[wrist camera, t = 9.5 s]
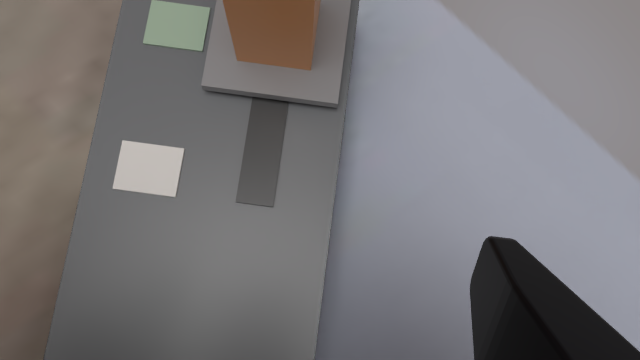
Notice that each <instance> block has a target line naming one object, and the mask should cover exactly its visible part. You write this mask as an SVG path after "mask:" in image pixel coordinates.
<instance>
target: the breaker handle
mask: <svg viewBox="0 0 640 360" xmlns="http://www.w3.org/2000/svg"><path fill="white" fill-rule="evenodd" d="M350 5H351V0H217V1H216V6H215V12H214V17H213V23H212V28H211V34H210V39H209V45H208V50H207V56H206V61H205V67H204V72H203V78H202V83H201V86H202V89H203V90H207V91H215V92H222V93H230V94H237V95H244V96H252V97H259V98H267V99H274V100H282V101H289V102H296V103H304V104H311V105H319V106H326V107H333V108H337V105H338V98H339V90H340V83H341V75H342V67H343V59H344V52H345V44H346V36H347V28H348V20H349V13H350Z"/></svg>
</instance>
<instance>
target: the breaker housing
mask: <svg viewBox="0 0 640 360" xmlns="http://www.w3.org/2000/svg"><path fill="white" fill-rule="evenodd" d="M216 1H217V0H123V1H122V6H121V10H120V15H119V19H118V24H117V28H116V33H115V37H114V42H113V46H112V51H111V55H110V60H109V65H108V69H107V74H106V78H105V83H104V87H103V92H102V96H101V101H100V105H99V110H98V114H97V119H96V123H95V128H94V133H93V137H92V142H91V146H90V151H89V155H88V160H87V164H86V169H85V173H84V178H83V182H82V187H81V192H80V196H79V201H78V205H77V210H76V214H75V219H74V223H73V228H72V232H71V237H70V241H69V246H68V250H67V255H66V260H65V264H64V269H63V273H62V278H61V282H60V287H59V291H58V296H57V300H56V305H55V309H54V314H53V318H52V323H51V328H50V332H49V337H48V341H47V346H46V350H45V355H44V359H43V360H314V358H315V350H316V342H317V334H318V327H319V319H320V311H321V303H322V295H323V287H324V279H325V271H326V263H327V255H328V247H329V239H330V231H331V223H332V215H333V207H334V199H335V191H336V183H337V175H338V167H339V159H340V151H341V143H342V135H343V127H344V119H345V111H346V103H347V95H348V87H349V79H350V71H351V63H352V55H353V47H354V39H355V31H356V23H357V15H358V7H359V0H351V5H350V13H349V20H348V28H347V36H346V44H345V52H344V59H343V67H342V75H341V83H340V90H339V98H338V105H337V108H333V107H326V106H319V105H311V104H304V103H296V102H289V101H282V100H274V99H267V98H259V97H252V96H244V95H237V94H230V93H222V92H215V91H207V90H203V89H202V86H201V83H202V78H203V72H204V67H205V61H206V56H207V50H208V45H209V39H210V34H211V28H212V23H213V17H214V12H215V6H216Z"/></svg>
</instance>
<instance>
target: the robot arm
mask: <svg viewBox="0 0 640 360" xmlns="http://www.w3.org/2000/svg"><path fill="white" fill-rule="evenodd" d="M470 299H471V315H472V330H473V346H474V360H640V352H639V351H638V350H637V349H636V348H635V347H634V346H633V345H632V344H630V343H629V342H628V341H627V340H626V339H625V338H624V337H623V336H622V335H620V334H619V333H618V332H617V331H616V330H615V329H614V328H613V327H612V326H610V325H609V324H608V323H607V322H606V321H605V320H604V319H603V318H602V317H600V316H599V315H598V314H597V313H596V312H595V311H594V310H593V309H591V308H590V307H589V306H588V305H587V304H586V303H585V302H584V301H583V300H581V299H580V298H579V297H578V296H577V295H576V294H575V293H574V292H573V291H571V290H570V289H569V288H568V287H567V286H566V285H565V284H564V283H563V282H561V281H560V280H559V279H558V278H557V277H556V276H555V275H554V274H553V273H551V272H550V271H549V270H548V269H547V268H546V267H545V266H544V265H543V264H541V263H540V262H539V261H538V260H537V259H536V258H535V257H534V256H533V255H531V254H530V253H529V252H528V251H527V250H526V249H525V248H524V247H523V246H521V245H520V244H519V243H518V242H517V241H516V240H514V239H510V238H502V237H494V236H489V237H488V238H486V239H485V241H484V242H483V245H482V248H481V251H480V254H479V257H478V260H477V263H476V266H475V269H474V272H473V275H472V278H471V284H470Z"/></svg>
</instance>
